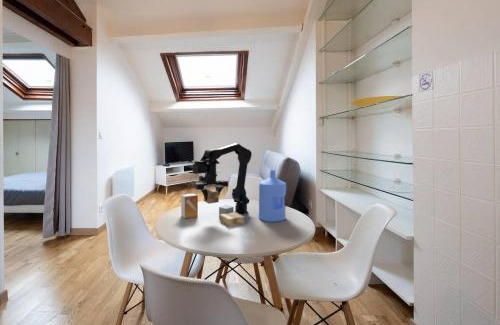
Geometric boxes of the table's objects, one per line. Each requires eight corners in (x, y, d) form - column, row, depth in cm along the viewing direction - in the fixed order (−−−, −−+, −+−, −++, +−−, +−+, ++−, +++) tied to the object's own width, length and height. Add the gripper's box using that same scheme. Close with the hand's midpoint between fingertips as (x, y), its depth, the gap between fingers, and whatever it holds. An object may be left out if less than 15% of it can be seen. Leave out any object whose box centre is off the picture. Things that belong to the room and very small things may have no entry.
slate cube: (226, 214, 155) (226, 204, 154) (233, 216, 151) (233, 206, 151) (219, 216, 150) (219, 206, 150) (226, 219, 147) (226, 208, 146)
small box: (184, 219, 146) (184, 196, 144) (181, 216, 151) (180, 194, 150) (198, 216, 150) (197, 195, 149) (194, 214, 155) (193, 193, 154)
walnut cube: (213, 199, 147) (213, 189, 146) (218, 202, 142) (218, 191, 141) (204, 201, 144) (204, 190, 143) (208, 203, 139) (208, 192, 138)
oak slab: (235, 218, 148) (235, 211, 148) (244, 223, 140) (244, 216, 140) (219, 221, 143) (219, 214, 143) (227, 226, 135) (227, 219, 134)
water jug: (254, 219, 146) (254, 171, 143) (265, 212, 159) (266, 168, 157) (279, 224, 138) (280, 173, 136) (289, 216, 152) (290, 170, 149)
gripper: (219, 169, 153) (219, 195, 154) (189, 171, 143) (190, 199, 144) (228, 171, 144) (228, 198, 145) (197, 174, 133) (197, 203, 135)
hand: (211, 199), depth 143 cm, fingers closed on walnut cube, 6 cm apart
